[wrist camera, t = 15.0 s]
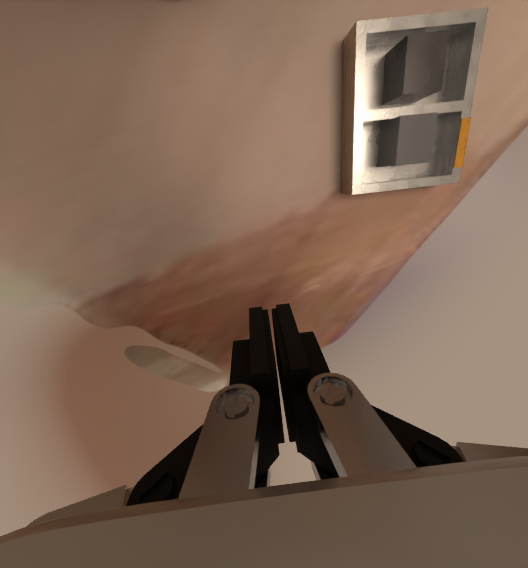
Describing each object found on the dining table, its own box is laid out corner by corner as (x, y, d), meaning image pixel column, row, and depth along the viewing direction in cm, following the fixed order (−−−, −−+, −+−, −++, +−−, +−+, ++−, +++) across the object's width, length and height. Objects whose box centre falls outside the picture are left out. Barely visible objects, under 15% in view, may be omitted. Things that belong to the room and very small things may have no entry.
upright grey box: (380, 123, 32) (400, 115, 27) (412, 120, 32) (437, 112, 27) (377, 167, 33) (395, 165, 29) (408, 164, 33) (430, 162, 29)
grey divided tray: (342, 40, 29) (362, 13, 24) (459, 28, 29) (503, -2, 24) (341, 192, 35) (356, 195, 30) (438, 181, 35) (468, 182, 30)
